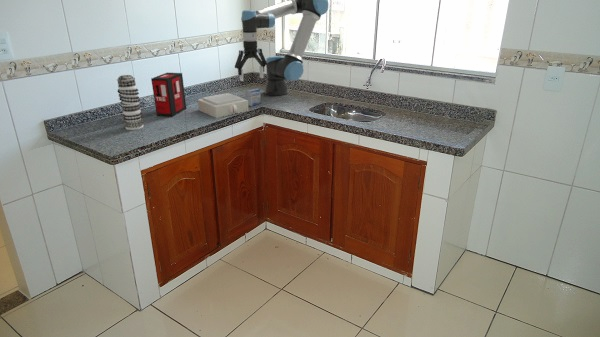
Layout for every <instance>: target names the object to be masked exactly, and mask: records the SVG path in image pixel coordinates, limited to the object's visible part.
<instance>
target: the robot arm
mask: <svg viewBox="0 0 600 337" xmlns="http://www.w3.org/2000/svg"><path fill="white" fill-rule="evenodd" d="M328 9H329V1H328V0H286V1H283V2H280V3H277V4H273V5H271V6H270V5H269V6H267V7H265V8H261V9H258V10H254V9H253V10H252V9H249V10H248V9H246V10H242V11H241V19H240V20H241V25H242V40H243V42H242V44H243V50H241V49H240V50H238V56H237V58H236V62H235V65H234V68H235V69H237V74H238V76H239V81H241V82H244V80H245V79H244V69H243V67H244V65H245V64H246V62H247V61H248V59H255V60H256V61H257V63H258V64H259V65H260V66H259V78H260V79H264V76H265V75H264V72H265V69H266V84H265V88H264V94H265V95H268V96H284V95H287V94H288V93H289V88H288V86H287V82H286V80H287V81H292V82H295V81H298V80H299V79H301V78H302V76H303V74H304V65H303V64H304V61H303V56H304V53H305V51H306V48H307V46H308V44H309V41H310V39H311V36H312V33H313V30H314V28H315V25H316V24H317V22H318V21H319V20H321V17H322V15H325V14H327V11H328ZM296 14H301V15H302V18H301V20H300V23H299V26H298V28H297V30H296V34H295V35H294V38H293V40H292V44H291V45H290V49H289V52H287V53H286V54H285V55H277V56H275V55H274V56H268V57H266V58H265V56H264V53H263V49H262V48H258V41H257V40H258V35H257V34H258V32H257V31H258V29H270V28H273V27H274V26H275V24H276V19H278V18H282V17H284V16H288V15H296ZM265 67H266V68H265Z"/></svg>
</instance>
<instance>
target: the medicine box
mask: <svg viewBox="0 0 600 337" xmlns="http://www.w3.org/2000/svg"><path fill="white" fill-rule="evenodd" d="M245 100H248V107H255V106H257V105H260V104H261V102H262V100H261V88H252V89H248V90H245Z"/></svg>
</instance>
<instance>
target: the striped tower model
mask: <svg viewBox="0 0 600 337" xmlns="http://www.w3.org/2000/svg"><path fill="white" fill-rule="evenodd" d="M135 79H136V78H135V77H134V76H133V75H130V74H124V75H123V74H121V75H119V76H118V78H117V79H116V81H117V85H118V86H117V87H118V88H117V93H118V99H119V101H120V104H121V105H120V106H122V112H123V114H122V116H123V119H124V121H123V123H124V127H125V130H127V131H136V130H140V129H143V128H144V119H143V113H142V111H141V108H140V104H141V103H140V102H141V99H140V96H138V95H139V94H140V93H139V92H138V91H139V89H138V88H137V84H136V80H135Z"/></svg>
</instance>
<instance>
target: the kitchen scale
mask: <svg viewBox="0 0 600 337" xmlns="http://www.w3.org/2000/svg"><path fill="white" fill-rule="evenodd" d="M197 106H198V111H200V112H202V113H204V114H206V115H209V116H210V117H213V118H215V117H216V119H219V118H223V116H224V117H228V115H229V116H232V114H233V115H236V114H235V113H238V114H241V113H240V112H242V113H246V111H247V112H249V111H250V110H249V108H250V106H248V100H246V98H243V97H240V96H238V95H234V94H232V93H229V92H226V93H219V94H216V95H215V94H214V95H209V96H204V97H202V98H200V99H197ZM218 117H219V118H218Z"/></svg>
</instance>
